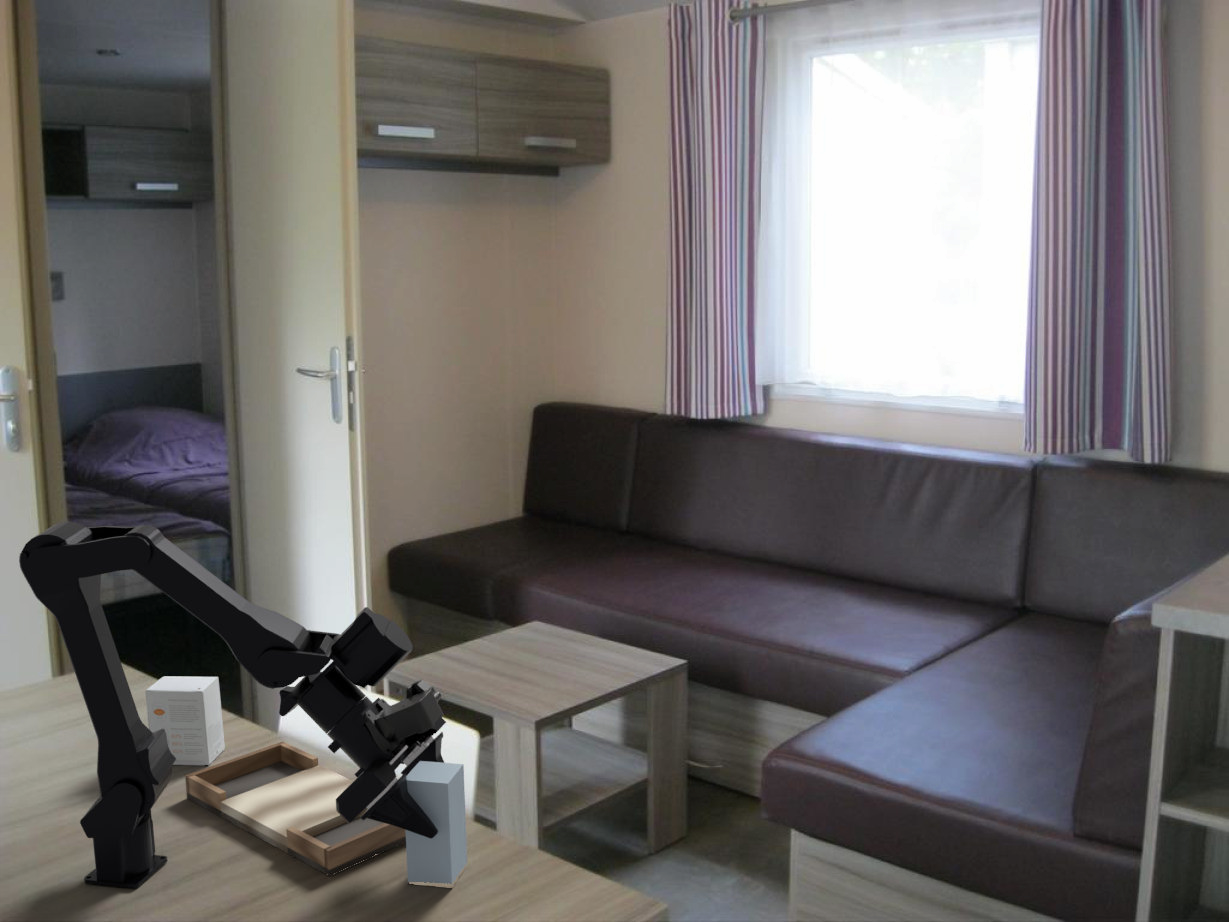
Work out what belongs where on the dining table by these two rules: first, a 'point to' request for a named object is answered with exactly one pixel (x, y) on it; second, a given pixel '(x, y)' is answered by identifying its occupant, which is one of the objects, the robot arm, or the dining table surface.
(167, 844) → the dining table surface
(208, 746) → the small box
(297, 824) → the box
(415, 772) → the block
